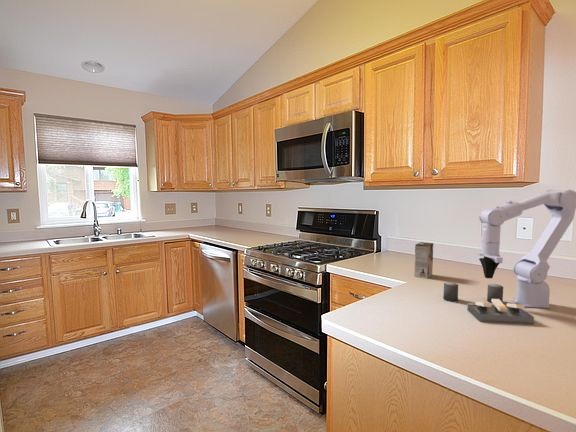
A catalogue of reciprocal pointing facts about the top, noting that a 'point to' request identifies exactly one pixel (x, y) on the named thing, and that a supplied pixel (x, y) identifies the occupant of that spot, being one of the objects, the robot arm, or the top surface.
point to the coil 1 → (450, 292)
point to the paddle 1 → (483, 304)
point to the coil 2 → (495, 292)
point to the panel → (500, 314)
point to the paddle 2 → (515, 305)
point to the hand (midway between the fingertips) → (488, 277)
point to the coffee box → (423, 259)
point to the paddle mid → (499, 305)
